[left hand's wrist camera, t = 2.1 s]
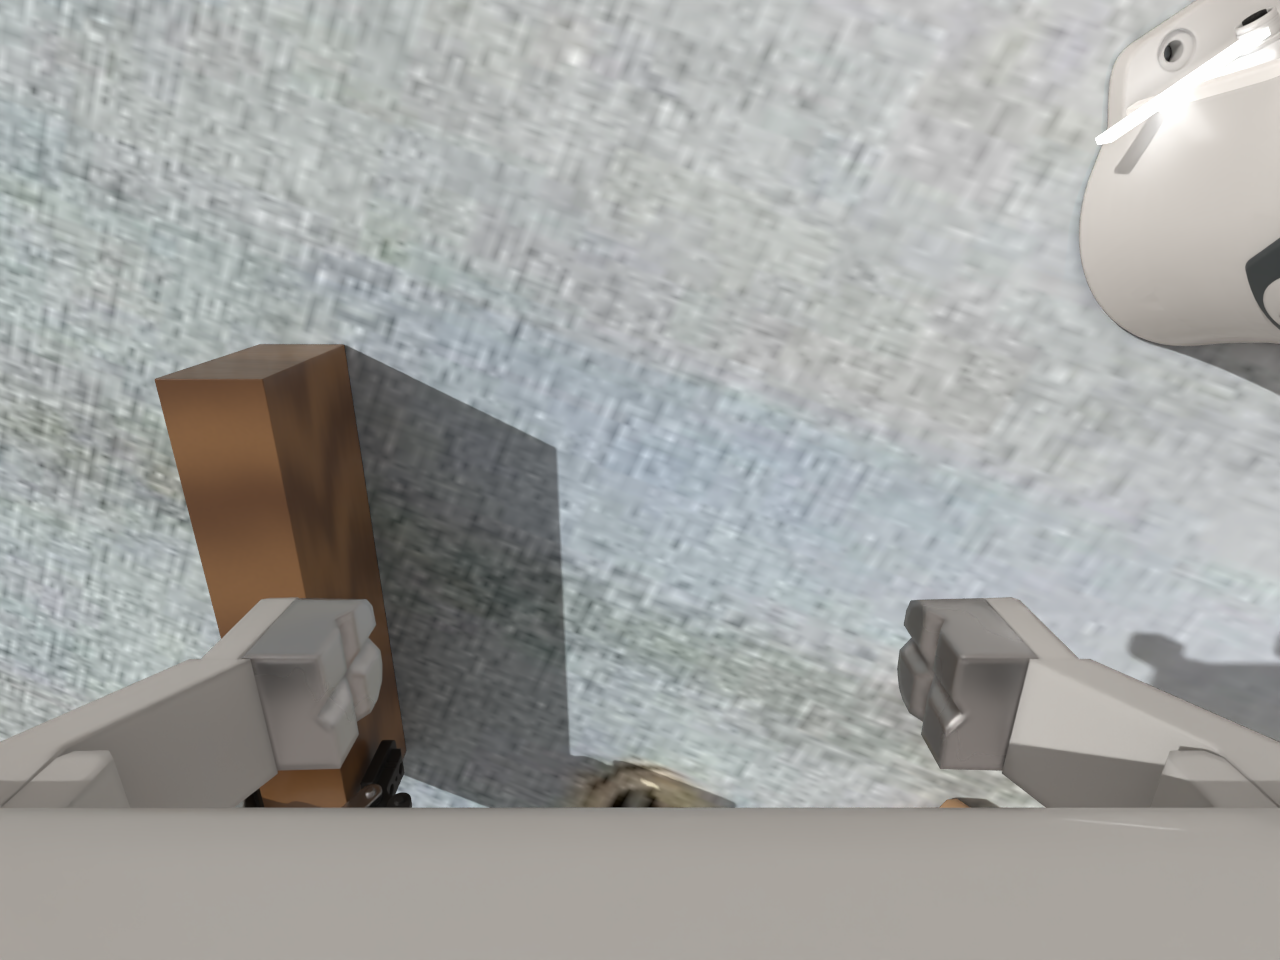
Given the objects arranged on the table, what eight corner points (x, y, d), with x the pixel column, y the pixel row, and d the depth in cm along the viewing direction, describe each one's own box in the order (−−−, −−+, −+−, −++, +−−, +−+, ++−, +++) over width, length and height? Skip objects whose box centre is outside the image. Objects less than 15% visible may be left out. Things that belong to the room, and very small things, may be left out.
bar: (259, 344, 37) (153, 378, 29) (344, 344, 37) (262, 379, 29) (339, 751, 47) (277, 860, 39) (406, 751, 47) (358, 860, 39)
